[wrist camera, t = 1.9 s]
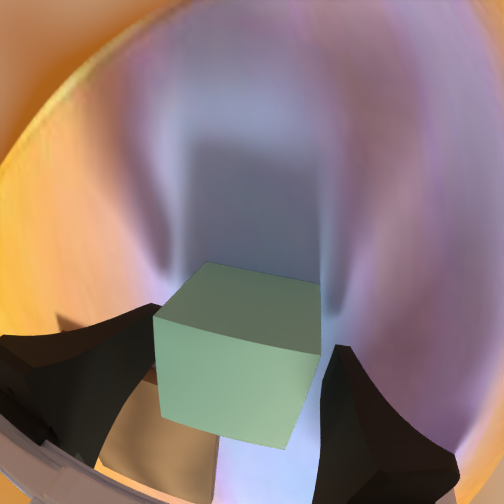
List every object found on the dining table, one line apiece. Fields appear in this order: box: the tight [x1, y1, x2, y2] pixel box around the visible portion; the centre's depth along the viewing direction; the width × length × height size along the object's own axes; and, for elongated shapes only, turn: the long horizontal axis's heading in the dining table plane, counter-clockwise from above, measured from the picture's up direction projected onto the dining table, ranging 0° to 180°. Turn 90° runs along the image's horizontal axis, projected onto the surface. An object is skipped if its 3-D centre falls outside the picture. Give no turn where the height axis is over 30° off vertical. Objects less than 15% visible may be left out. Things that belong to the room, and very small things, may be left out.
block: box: [153, 262, 321, 450], centre depth 11 cm, size 5×5×5 cm
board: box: [60, 331, 220, 504], centre depth 19 cm, size 12×18×1 cm, turn 173°
